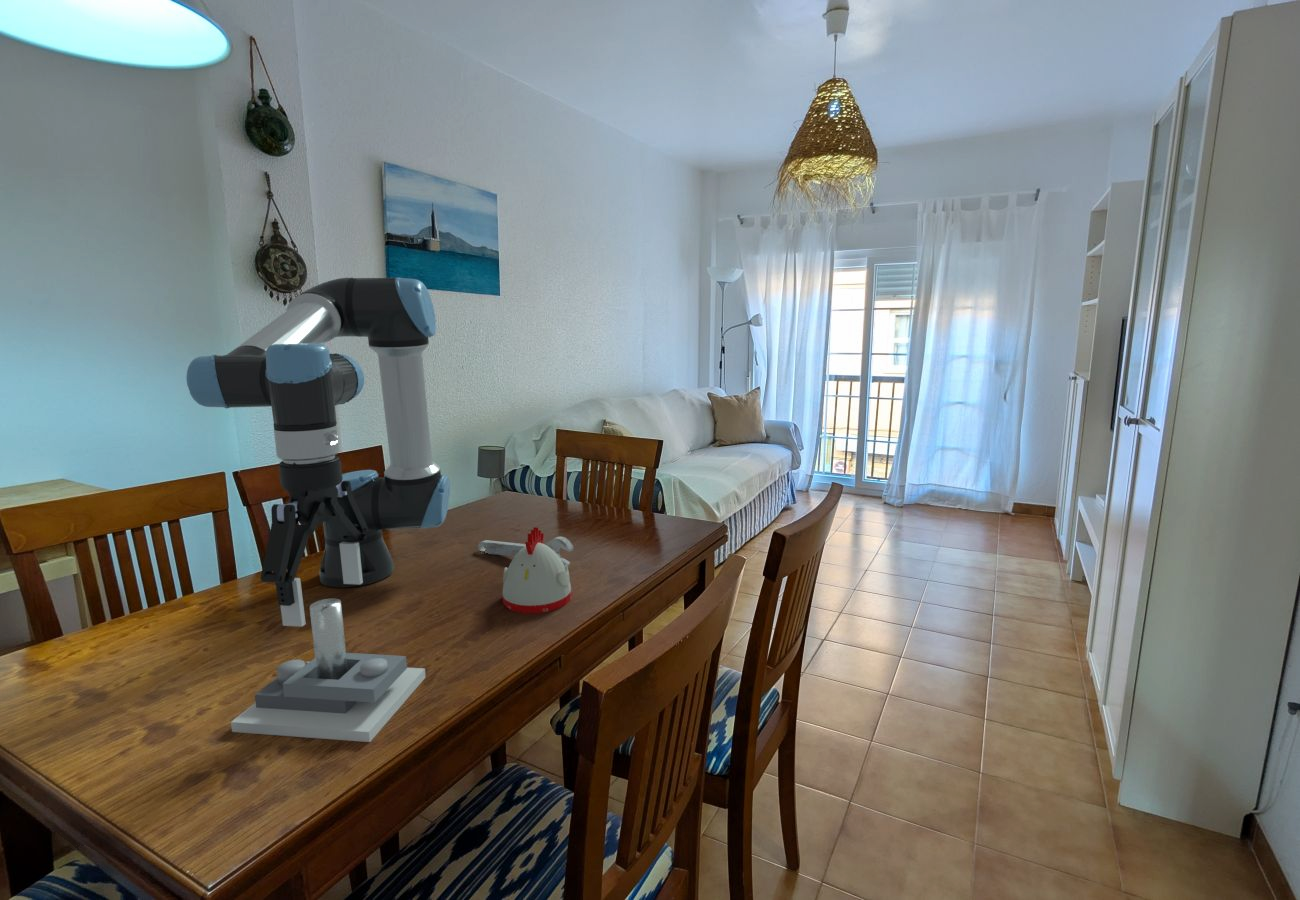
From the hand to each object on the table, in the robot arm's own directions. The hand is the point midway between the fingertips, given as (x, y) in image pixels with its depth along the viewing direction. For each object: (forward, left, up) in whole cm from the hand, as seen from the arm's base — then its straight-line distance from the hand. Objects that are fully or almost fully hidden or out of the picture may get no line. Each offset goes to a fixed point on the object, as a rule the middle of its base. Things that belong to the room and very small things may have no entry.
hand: (326, 602), depth 90 cm
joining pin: (0, 0, -14) cm, 14 cm away
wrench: (+10, +58, -16) cm, 61 cm away
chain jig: (0, 0, -16) cm, 16 cm away
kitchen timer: (+19, +39, -16) cm, 46 cm away
